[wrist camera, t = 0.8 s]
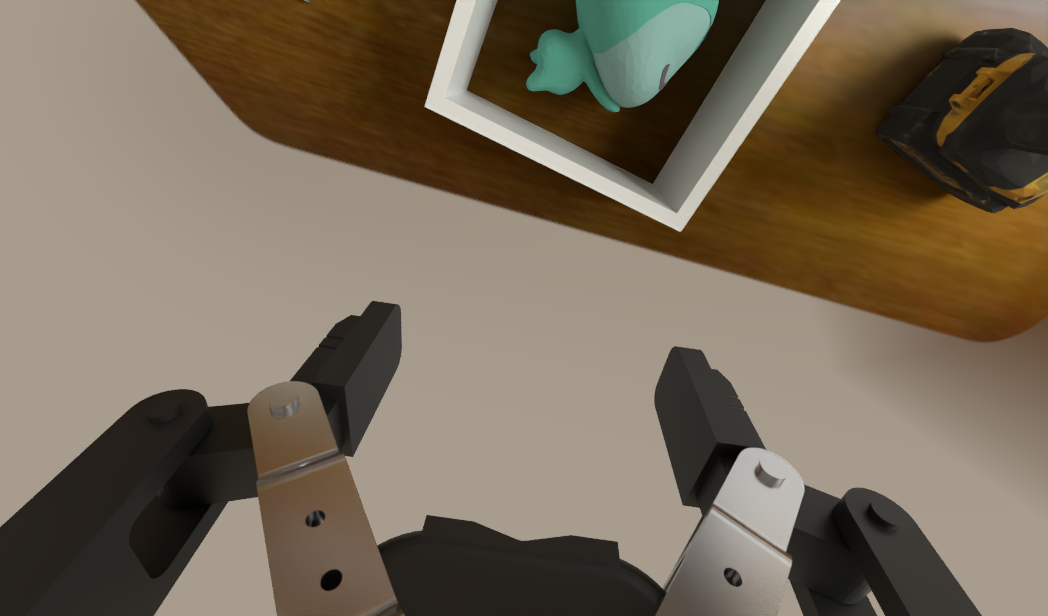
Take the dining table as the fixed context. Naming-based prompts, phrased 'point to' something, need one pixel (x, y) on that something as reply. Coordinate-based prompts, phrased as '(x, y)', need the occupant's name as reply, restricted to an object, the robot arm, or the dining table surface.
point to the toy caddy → (707, 143)
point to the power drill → (980, 121)
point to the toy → (621, 48)
